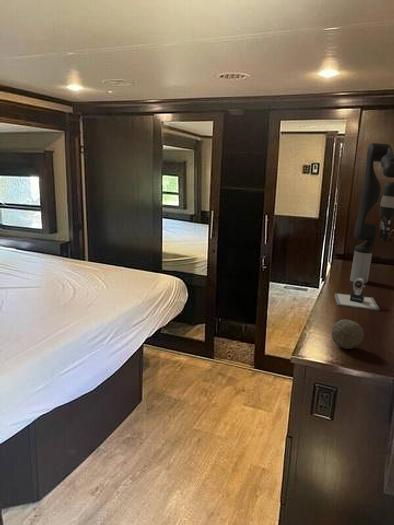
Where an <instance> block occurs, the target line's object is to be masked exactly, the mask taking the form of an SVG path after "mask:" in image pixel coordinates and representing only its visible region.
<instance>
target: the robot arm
mask: <svg viewBox="0 0 394 525" xmlns="http://www.w3.org/2000/svg"><path fill="white" fill-rule="evenodd" d="M374 162H377V163H380V166H381V167H382V169H383V170H382V174H383V176H384V177H386V178H391V179H392V178H393V179H394V151H393V149H392V146H391V145H390V144H388V143H377V142H375V143H374V142H373V143H370V144H369V145H368V148H367V152H366V160H365V172H364V177H363V178H364V179H363V184H362V189H361V194H360V195H361V196H360V202H359V209H358V212H357V218H356V222H355V226H354V230H353V232H354V233H353V235H354V238H355V240H360V241H361V240H362V241H364V242H363V243H360V244H358V245H356V246H355V247H354V252H353V258H352V259H353V260H352V265H351V271H350V276H349V281H350V282H354V281H355V280H356V279H358V278H362V279H364V284H367V283H368V279H369V275H370V269H371V262H372V256H373V252H374V248H375V244H376V240H377V236H378V238H379V239H381V241H382V242H384V243H385V242H386V243H387V242H388V239H389V234H391V232H392V224H393V220H392V219H391V218H394V181H392V182H386V183H385V184H384V187H383V193H382V197H381V200H380V196H381V190H382V186H381V183H380V180H379V179H378V177H377V175H376V171H375V169H374V166H375V164H374ZM379 200H380V206H379V212H378V215H379V216H380V221H379V227H378V226H377V225H376V223H371V222H369V223H367V222H366V220H367V218H368V215H369V213H370V212H371V211H372V210H373V209H374V207H376V206H377V204H378V202H379ZM378 228H379V233H378ZM377 234H379V235H377Z"/></svg>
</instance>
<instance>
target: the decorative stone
mask: <svg viewBox="0 0 394 525" xmlns="http://www.w3.org/2000/svg"><path fill="white" fill-rule="evenodd" d="M364 335H365V334H364V329H363V328H362V326H361V325H360V324H359V322H356V321H353V320H350V319H345V318H344V319H343V318H342V319H340V320H338V321H337V322H335V324H334V325H333V327H332V329H331V338H332V340H333V342H334V343H335V344H336V346H337V347H339V348H341V349H344V350H351V349H354V348H356V347H357V346H359V345H360V343H361V342H362V341H363V340H364Z"/></svg>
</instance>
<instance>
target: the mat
mask: <svg viewBox="0 0 394 525" xmlns="http://www.w3.org/2000/svg"><path fill="white" fill-rule="evenodd" d="M334 294H335V295H334V298H335V301H336V304H337V306H339V307H344V308H345V307H347V308H356V309H362V310H369V311H370V310H371V311H378V312H380V311H381V309H380V307H379V306H378V304H377V302H376V300H375V299H374V298H373V297H369V296H365V297H364V301H363V303H358V302H353V301H350V296H351V294H347V293H339V292H338V293H337V292H334Z"/></svg>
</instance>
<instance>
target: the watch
mask: <svg viewBox="0 0 394 525" xmlns="http://www.w3.org/2000/svg"><path fill="white" fill-rule="evenodd" d="M352 287H353V292H351V294H350V295H351V296H350V301H353V302H358V303H363V301H364V297H366V295H365V294H362V291H363V289H364V288H366V285H365V283H364V279H362V278H358V279H356V280H355V281H354V282H353V283H352Z"/></svg>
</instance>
